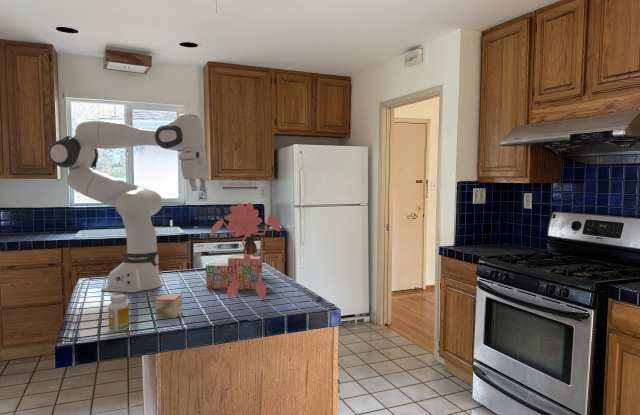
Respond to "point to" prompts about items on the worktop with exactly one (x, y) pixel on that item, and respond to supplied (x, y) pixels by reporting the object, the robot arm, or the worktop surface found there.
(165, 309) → the maple cube
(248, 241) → the sauce bottle
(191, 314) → the worktop surface
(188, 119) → the robot arm
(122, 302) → the supplement bottle
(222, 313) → the worktop surface
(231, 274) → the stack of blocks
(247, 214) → the coral stemmed figure
